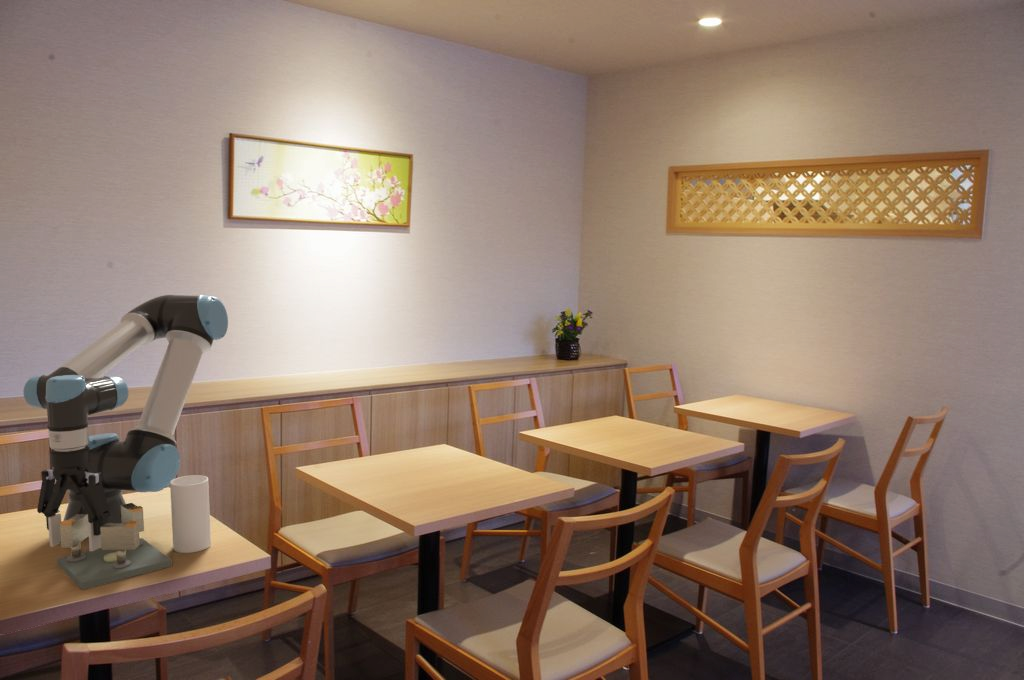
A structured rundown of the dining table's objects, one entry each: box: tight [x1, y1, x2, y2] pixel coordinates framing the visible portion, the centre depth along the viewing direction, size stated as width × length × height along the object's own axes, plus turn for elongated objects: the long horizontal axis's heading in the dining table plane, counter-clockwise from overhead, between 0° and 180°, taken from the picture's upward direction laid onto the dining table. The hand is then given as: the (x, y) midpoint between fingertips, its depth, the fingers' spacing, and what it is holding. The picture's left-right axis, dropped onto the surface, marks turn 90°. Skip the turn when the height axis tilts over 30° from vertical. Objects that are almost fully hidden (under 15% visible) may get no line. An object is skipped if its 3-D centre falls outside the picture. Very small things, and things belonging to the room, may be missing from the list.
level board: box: [56, 537, 173, 591], centre depth 175 cm, size 18×18×2 cm
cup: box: [169, 474, 212, 554], centre depth 186 cm, size 8×8×16 cm
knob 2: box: [121, 502, 145, 533], centre depth 182 cm, size 7×2×9 cm, turn 45°
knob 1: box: [100, 521, 140, 564], centre depth 171 cm, size 7×2×9 cm, turn 91°
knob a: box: [60, 514, 89, 557], centre depth 174 cm, size 7×2×9 cm, turn 2°
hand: (75, 546), depth 174 cm, fingers open, 10 cm apart
